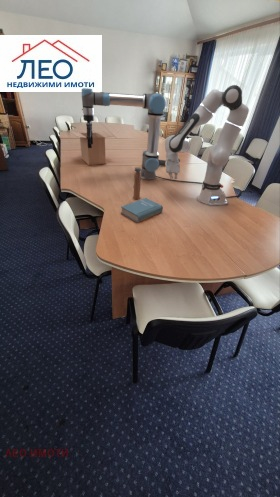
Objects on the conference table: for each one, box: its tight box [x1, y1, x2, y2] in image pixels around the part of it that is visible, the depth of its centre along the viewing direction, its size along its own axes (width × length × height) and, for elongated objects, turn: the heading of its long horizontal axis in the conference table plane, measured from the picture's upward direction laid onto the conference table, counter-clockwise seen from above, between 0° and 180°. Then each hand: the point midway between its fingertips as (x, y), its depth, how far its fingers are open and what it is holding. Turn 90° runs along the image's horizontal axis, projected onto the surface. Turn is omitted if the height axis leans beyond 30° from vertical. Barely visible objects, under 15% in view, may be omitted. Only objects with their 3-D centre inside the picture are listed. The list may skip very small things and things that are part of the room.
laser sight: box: [158, 159, 166, 167], centre depth 236 cm, size 10×22×10 cm, turn 78°
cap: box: [134, 167, 142, 172], centre depth 154 cm, size 4×4×2 cm
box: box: [70, 129, 114, 166], centre depth 229 cm, size 44×36×27 cm
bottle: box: [132, 171, 142, 200], centre depth 160 cm, size 5×5×22 cm
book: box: [120, 197, 164, 223], centre depth 146 cm, size 23×16×5 cm
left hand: (90, 146), depth 173 cm, fingers open, 13 cm apart
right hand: (173, 179), depth 167 cm, fingers open, 8 cm apart
